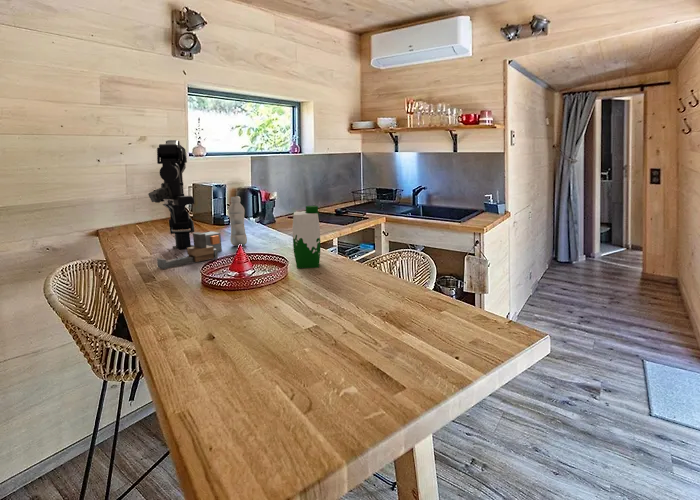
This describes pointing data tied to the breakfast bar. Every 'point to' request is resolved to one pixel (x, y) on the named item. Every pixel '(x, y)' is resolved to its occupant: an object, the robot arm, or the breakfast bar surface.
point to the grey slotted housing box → (216, 246)
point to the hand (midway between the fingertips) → (176, 222)
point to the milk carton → (306, 238)
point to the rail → (178, 261)
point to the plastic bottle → (237, 222)
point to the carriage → (200, 248)
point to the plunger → (214, 239)
